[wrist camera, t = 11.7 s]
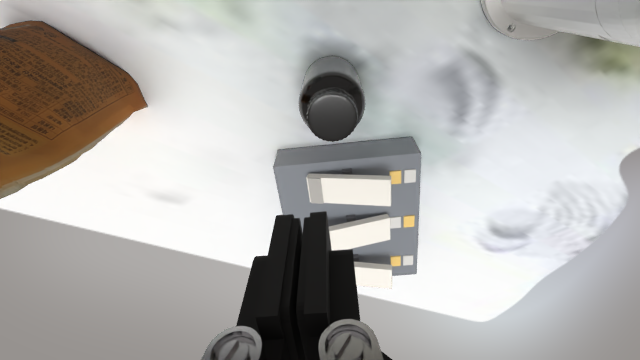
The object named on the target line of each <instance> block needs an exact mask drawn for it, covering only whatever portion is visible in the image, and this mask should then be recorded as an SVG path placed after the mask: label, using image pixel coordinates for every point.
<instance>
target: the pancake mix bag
mask: <svg viewBox="0 0 640 360" xmlns="http://www.w3.org/2000/svg"><path fill="white" fill-rule="evenodd" d="M146 107H147V104H146V102H145V100H144V98H143V96H142V93H141V91H140V88H139V86H138V84H137V83H136V81H135V80H134V79H133V78H132V77H131V76H130V75H129V74H128V73H127V72H125V71H124V70H122V69H120V68H119V67H117V66H115V65H114V64H112V63H110V62H109V61H107V60H105V59H104V58H102V57H100V56H99V55H97V54H95V53H94V52H92V51H90V50H89V49H87V48H85V47H83V46H82V45H80V44H78V43H76V42H75V41H73V40H71V39H70V38H68V37H66V36H65V35H63V34H62V33H60V32H59V31H57V30H56V29H54V28H52V27H51V26H49V25H47V24H46V23H44V22H42V21H25V22H20V23H15V24H10V25H8V26H6V27H4V28H2V29H0V199H1V198H3V197H6V196H8V195H11V194H13V193H15V192H18V191H19V190H21V189H22V188H24V187H25V186H27V185H28V184H30V183H32V182H35V181H37V180H40V179H42V178H44V177H46V176H48V175H50V174H52V173H54V172H55V171H57V170H59V169H61V168H63V167H65V166H67V165H69V164H70V163H72V162H74V161H75V160H77V159H78V158H79V157H80V156H81V155H82V154H83V153H85V152H87V151H88V150H90V149H92V148H93V147H94V146H95V145H96V144H97V143H98V142H100V141H101V140H102V139H103V138H105V137H106V136H107V135H108V134H109V133H110V132H111V131H112V130H114V129H115V128H116V127H118V126H119V125H121V124H122V123H123V122H124V121H125V120H126V119H127V118H128V117H130V115H131V114H132V113H133V112H135V111H138V110H140V109H143V108H146Z"/></svg>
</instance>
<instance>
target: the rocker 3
mask: <svg viewBox="0 0 640 360" xmlns="http://www.w3.org/2000/svg"><path fill="white" fill-rule="evenodd" d="M354 267H355V277H356V285H357V286H366V287H376V288H385V289H392V265H387V264H376V263H364V262H354Z"/></svg>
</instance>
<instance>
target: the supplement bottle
mask: <svg viewBox="0 0 640 360" xmlns="http://www.w3.org/2000/svg"><path fill="white" fill-rule="evenodd" d="M364 110H365V97H364V93H363V89H362V86H361V83H360V80H359V77H358V74H357V72H356V70H355V68H354V67H353V66H352V65H351V64H350V63H349V62H348V61H347V60H345V59H343V58H340V57H337V56H327V57H323V58H320V59H318V60H317V61H315V62H314V63H313V64H312V65H311V66H310V67H309V68H308V70H307V72H306V74H305V77H304V80H303V84H302V88H301V93H300V97H299V111H300V114H301V117H302V119H303V121H304V122H305V124H306V125H307V126H308V127H309V128H310V129H311V131H312V132H313V133H314V134H315V136H318V138H321V139H322V140H326V141H332V142H333V141H339V140H342V139H343V138H346V137H347V136H348V135H350V134H351V132H353V130H354V128H355V127H356V126H357V124H358V123H359V122H360V120H361V118H362V116H363V114H364Z"/></svg>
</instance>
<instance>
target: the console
mask: <svg viewBox="0 0 640 360" xmlns="http://www.w3.org/2000/svg"><path fill="white" fill-rule="evenodd" d="M273 169H274V174H275V179H276V183H277V188H278V193H279V198H280V203H281V208H282V213H283V215H288V214H293V215H294V218H300V221H301V226H302V232H303V225H304V217H310V213H312V212H324V211H326V212H327V217H328V225H329V226H333V225H338V224H343V223H347V222H352V221H356V220H361V219H365V218H370V217H374V216H379V215H383V214H388V216H389V217H390V240H387V241H382V242H378V243H374V244H369V245H365V246H360V247H356V248H352V249H353V258H354V262H364V263H376V264H387V265H392V276H396V275H410V274H416V273H417V248H418V223H419V197H420V172H421V152H420V150H419V148H418V146H417V145H416V143H415V141H414V139H413V138H412V137H403V138H393V139H383V140H373V141H362V142H352V143H342V144H332V145H322V146H312V147H301V148H291V149H281V150H278V152H277V155H276V159H275V162H274V166H273ZM309 173H310V174H346V175H382V176H391V201H392V202H391V206H373V205H354V204H335V203H324V204H317V203H311V202H310V198H309V192H308V185H307V179H306V177H307V175H308V174H309Z"/></svg>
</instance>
